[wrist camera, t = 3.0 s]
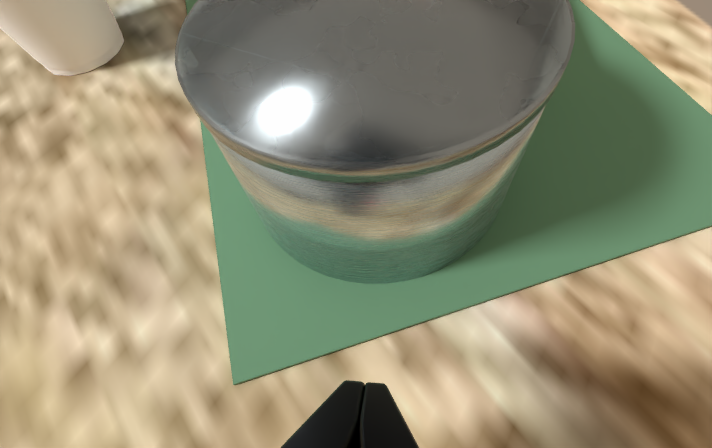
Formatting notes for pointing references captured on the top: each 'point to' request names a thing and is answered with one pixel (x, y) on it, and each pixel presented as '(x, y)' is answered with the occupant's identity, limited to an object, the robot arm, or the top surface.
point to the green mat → (511, 225)
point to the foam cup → (63, 32)
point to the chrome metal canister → (374, 118)
